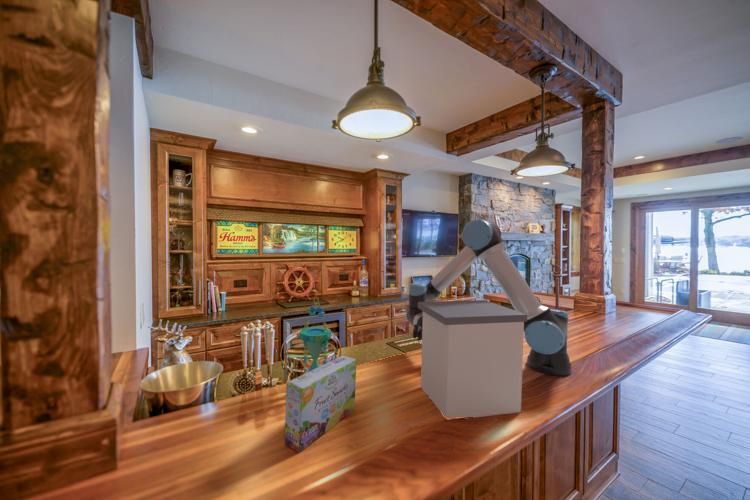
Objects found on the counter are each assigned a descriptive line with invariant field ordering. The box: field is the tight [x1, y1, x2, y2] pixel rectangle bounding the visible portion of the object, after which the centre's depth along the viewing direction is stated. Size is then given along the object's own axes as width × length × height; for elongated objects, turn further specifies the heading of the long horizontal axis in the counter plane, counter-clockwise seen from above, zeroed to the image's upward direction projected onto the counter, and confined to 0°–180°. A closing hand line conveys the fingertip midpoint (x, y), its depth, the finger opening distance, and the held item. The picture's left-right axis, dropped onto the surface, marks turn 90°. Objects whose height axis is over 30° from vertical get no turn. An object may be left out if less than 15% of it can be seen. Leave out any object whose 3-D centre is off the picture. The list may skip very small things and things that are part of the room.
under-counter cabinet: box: [418, 299, 527, 418], centre depth 93 cm, size 25×21×28 cm
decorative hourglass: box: [298, 296, 333, 375], centre depth 96 cm, size 11×11×30 cm
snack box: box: [284, 355, 358, 454], centre depth 77 cm, size 21×6×15 cm, turn 148°
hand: (447, 340), depth 105 cm, fingers open, 13 cm apart
